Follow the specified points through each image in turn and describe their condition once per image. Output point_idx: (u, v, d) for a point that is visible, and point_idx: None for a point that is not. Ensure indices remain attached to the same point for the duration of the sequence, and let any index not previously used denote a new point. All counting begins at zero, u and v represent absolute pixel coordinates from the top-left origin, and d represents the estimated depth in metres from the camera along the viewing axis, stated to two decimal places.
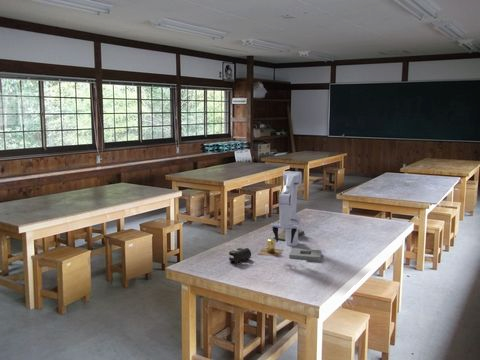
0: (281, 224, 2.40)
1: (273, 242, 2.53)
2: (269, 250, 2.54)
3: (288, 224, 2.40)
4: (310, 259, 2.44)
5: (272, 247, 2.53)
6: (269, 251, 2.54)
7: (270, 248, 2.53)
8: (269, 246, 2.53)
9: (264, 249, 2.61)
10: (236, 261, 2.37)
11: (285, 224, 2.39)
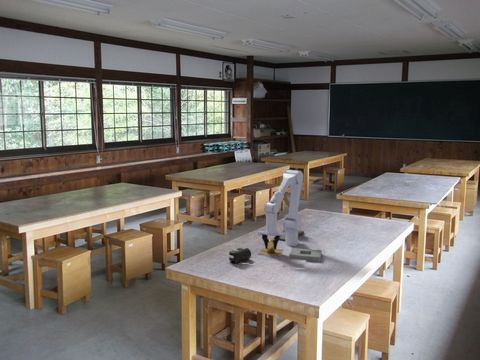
0: (267, 232, 2.52)
1: (273, 242, 2.53)
2: (269, 250, 2.54)
3: (274, 232, 2.52)
4: (310, 259, 2.44)
5: (272, 247, 2.53)
6: (269, 251, 2.54)
7: (270, 248, 2.53)
8: (269, 246, 2.53)
9: (264, 249, 2.61)
10: (236, 261, 2.37)
11: (271, 232, 2.51)
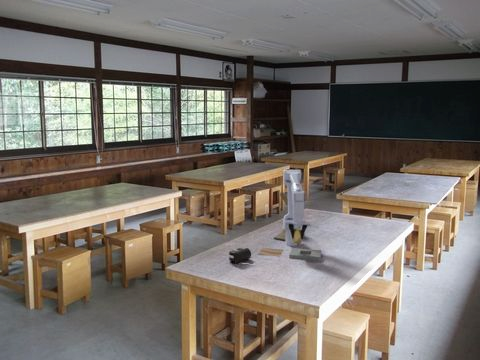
0: (294, 221, 2.47)
1: (300, 232, 2.48)
2: (296, 240, 2.49)
3: (301, 221, 2.47)
4: (310, 259, 2.44)
5: (299, 237, 2.48)
6: (296, 241, 2.49)
7: (297, 238, 2.48)
8: (296, 236, 2.48)
9: (264, 249, 2.61)
10: (236, 261, 2.37)
11: (298, 221, 2.46)
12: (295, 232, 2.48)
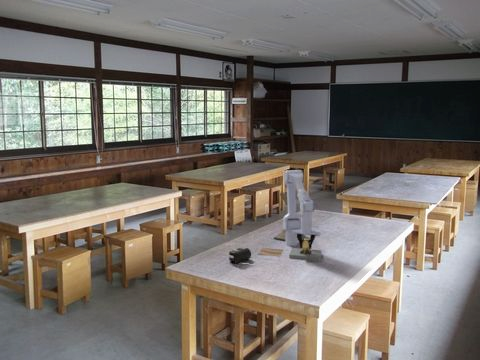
0: (303, 231, 2.46)
1: (308, 242, 2.48)
2: (304, 250, 2.48)
3: (310, 231, 2.46)
4: (310, 259, 2.44)
5: (307, 247, 2.48)
6: (304, 251, 2.48)
7: (305, 248, 2.48)
8: (304, 246, 2.48)
9: (264, 249, 2.61)
10: (236, 261, 2.37)
11: (307, 231, 2.46)
12: (303, 242, 2.48)
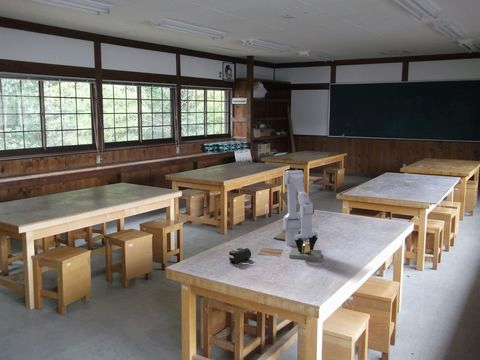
0: (307, 234, 2.46)
1: (309, 246, 2.49)
2: None
3: (311, 233, 2.48)
4: (310, 259, 2.44)
5: (309, 251, 2.49)
6: None
7: (308, 253, 2.48)
8: (307, 251, 2.48)
9: (264, 249, 2.61)
10: (236, 261, 2.37)
11: (310, 233, 2.47)
12: (306, 247, 2.48)
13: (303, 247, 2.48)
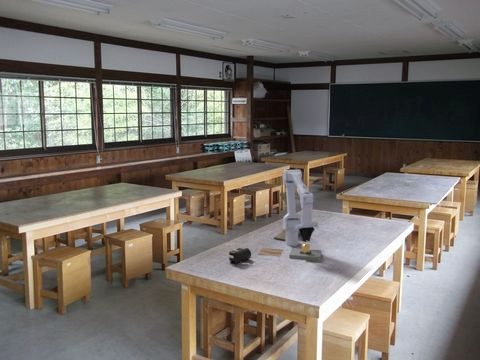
0: (307, 224, 2.45)
1: (309, 246, 2.49)
2: None
3: (311, 223, 2.47)
4: (310, 259, 2.44)
5: (309, 251, 2.49)
6: None
7: (308, 253, 2.48)
8: (307, 251, 2.48)
9: (264, 249, 2.61)
10: (236, 261, 2.37)
11: (310, 223, 2.46)
12: (306, 247, 2.48)
13: (303, 247, 2.48)
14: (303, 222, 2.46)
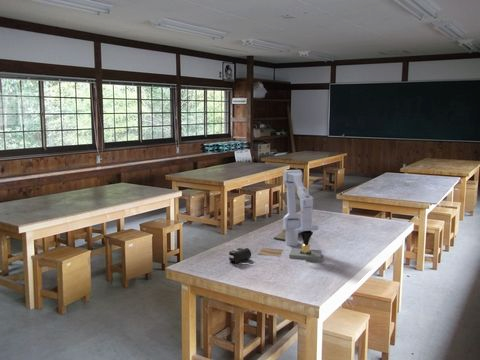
0: (307, 227, 2.45)
1: (309, 246, 2.49)
2: None
3: (311, 226, 2.48)
4: (310, 259, 2.44)
5: (309, 251, 2.49)
6: None
7: (308, 253, 2.48)
8: (307, 251, 2.48)
9: (264, 249, 2.61)
10: (236, 261, 2.37)
11: (310, 227, 2.46)
12: (306, 247, 2.48)
13: (303, 247, 2.48)
14: (303, 226, 2.46)
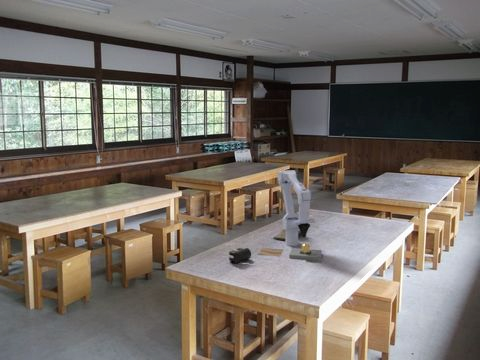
0: (304, 220, 2.51)
1: (309, 246, 2.49)
2: None
3: (309, 219, 2.53)
4: (310, 259, 2.44)
5: (309, 251, 2.49)
6: None
7: (308, 253, 2.48)
8: (307, 251, 2.48)
9: (264, 249, 2.61)
10: (236, 261, 2.37)
11: (308, 219, 2.52)
12: (306, 247, 2.48)
13: (303, 247, 2.48)
14: (300, 218, 2.52)
